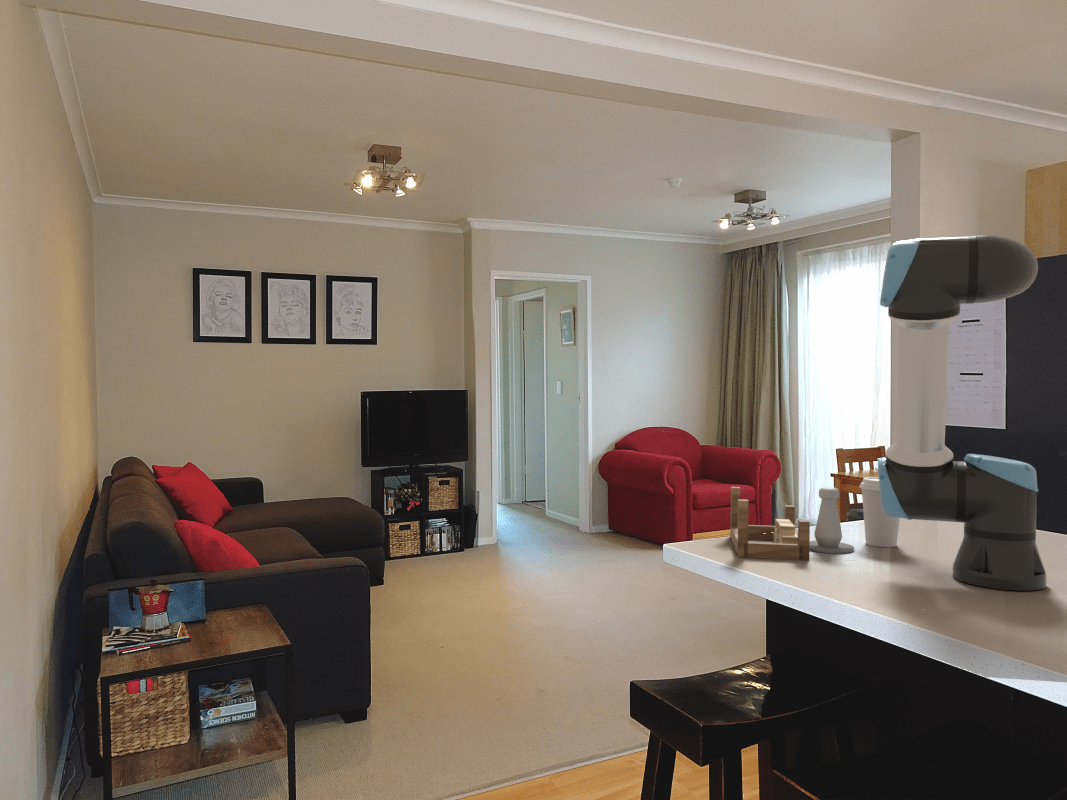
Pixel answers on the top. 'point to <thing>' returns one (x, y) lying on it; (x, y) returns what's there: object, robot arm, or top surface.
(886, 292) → the robot arm
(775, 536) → the offcut stack
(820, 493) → the salt shaker
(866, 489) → the coffee cup
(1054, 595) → the top surface
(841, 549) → the coaster
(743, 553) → the rack
